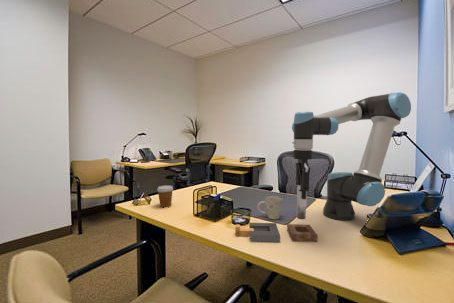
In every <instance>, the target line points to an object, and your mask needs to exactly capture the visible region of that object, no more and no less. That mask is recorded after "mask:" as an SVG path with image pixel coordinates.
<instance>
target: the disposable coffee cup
mask: <svg viewBox="0 0 454 303" xmlns="http://www.w3.org/2000/svg"><path fill="white" fill-rule="evenodd" d="M156 190H157V195H158V200H159V206H161V207H168V208H170V207H171V206H172V199H173V191H174V188H173V185H160V186H158V187H157V189H156ZM169 206H170V207H169ZM161 207H160V208H161Z"/></svg>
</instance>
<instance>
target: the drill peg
mask: <svg viewBox="0 0 454 303" xmlns="http://www.w3.org/2000/svg"><path fill="white" fill-rule="evenodd" d="M296 188H297V189H296V192H297V193H296V219H298V220H306V219H307V218H306V216H307V214H306V213H307V205H306V206H299V199H300V191H299V190H300V189H301V187H300V185H296Z"/></svg>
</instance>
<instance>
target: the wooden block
mask: <svg viewBox="0 0 454 303" xmlns="http://www.w3.org/2000/svg"><path fill="white" fill-rule="evenodd" d="M234 231H235V237H250V231H254V228H249V227H241V224H235V230H234Z"/></svg>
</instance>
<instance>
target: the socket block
mask: <svg viewBox="0 0 454 303" xmlns="http://www.w3.org/2000/svg"><path fill="white" fill-rule="evenodd" d="M248 228H254V231H250V236H249V239H250V240H249V241H250V242H251V243H252V242H257V243H281V234H280V231H279V227H278V225H277V223H276V222H249V226H248Z"/></svg>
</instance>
